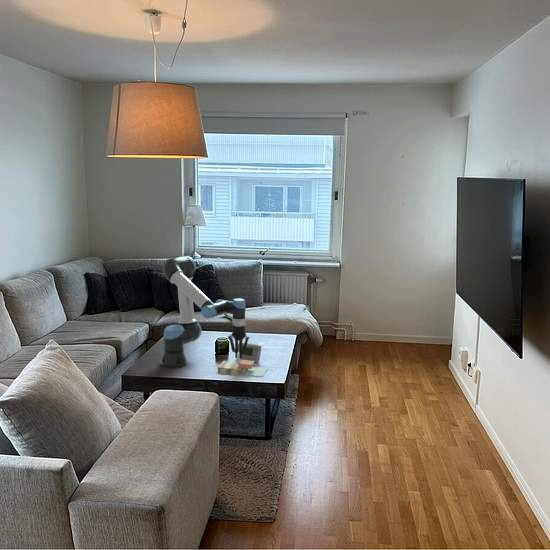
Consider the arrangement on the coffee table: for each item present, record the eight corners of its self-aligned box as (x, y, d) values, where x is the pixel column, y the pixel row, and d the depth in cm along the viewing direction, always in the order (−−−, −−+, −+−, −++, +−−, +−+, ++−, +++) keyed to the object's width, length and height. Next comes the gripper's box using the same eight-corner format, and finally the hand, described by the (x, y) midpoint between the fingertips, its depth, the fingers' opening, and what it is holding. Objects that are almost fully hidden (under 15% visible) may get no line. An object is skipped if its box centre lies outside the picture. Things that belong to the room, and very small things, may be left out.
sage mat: (244, 375, 317) (244, 374, 317) (249, 367, 331) (249, 366, 331) (262, 377, 315) (262, 376, 315) (267, 368, 329) (267, 368, 329)
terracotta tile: (238, 367, 321) (238, 363, 320) (241, 363, 328) (241, 359, 327) (251, 368, 319) (251, 364, 319) (254, 365, 326) (254, 361, 326)
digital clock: (234, 359, 344) (234, 343, 342) (243, 356, 351) (243, 340, 349) (255, 365, 335) (255, 348, 333) (263, 361, 342) (264, 345, 340)
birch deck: (217, 372, 321) (218, 367, 320) (223, 365, 333) (223, 360, 332) (244, 374, 318) (244, 369, 318) (249, 367, 330) (249, 363, 329)
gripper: (226, 325, 317) (226, 364, 321) (248, 327, 315) (247, 366, 319) (229, 322, 325) (229, 360, 329) (251, 324, 322) (250, 362, 326)
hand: (238, 363), depth 324 cm, fingers closed
